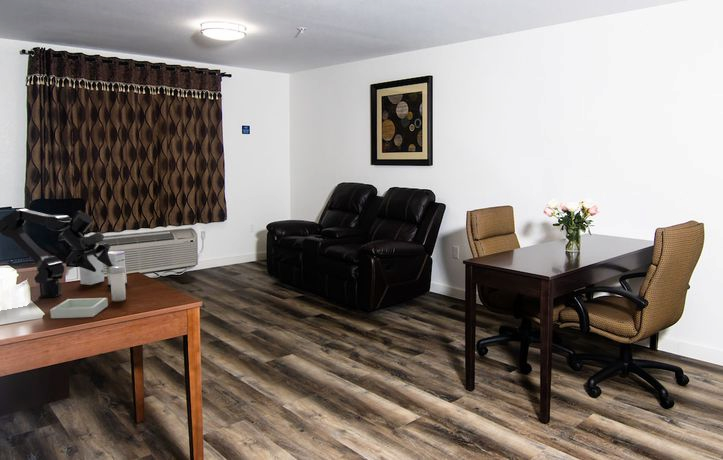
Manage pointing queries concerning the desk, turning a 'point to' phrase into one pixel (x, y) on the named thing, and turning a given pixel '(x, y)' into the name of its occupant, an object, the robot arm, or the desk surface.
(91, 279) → the skincare box
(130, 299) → the desk surface
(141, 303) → the desk surface
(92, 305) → the tray
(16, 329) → the desk surface
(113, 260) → the syrup box
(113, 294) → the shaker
